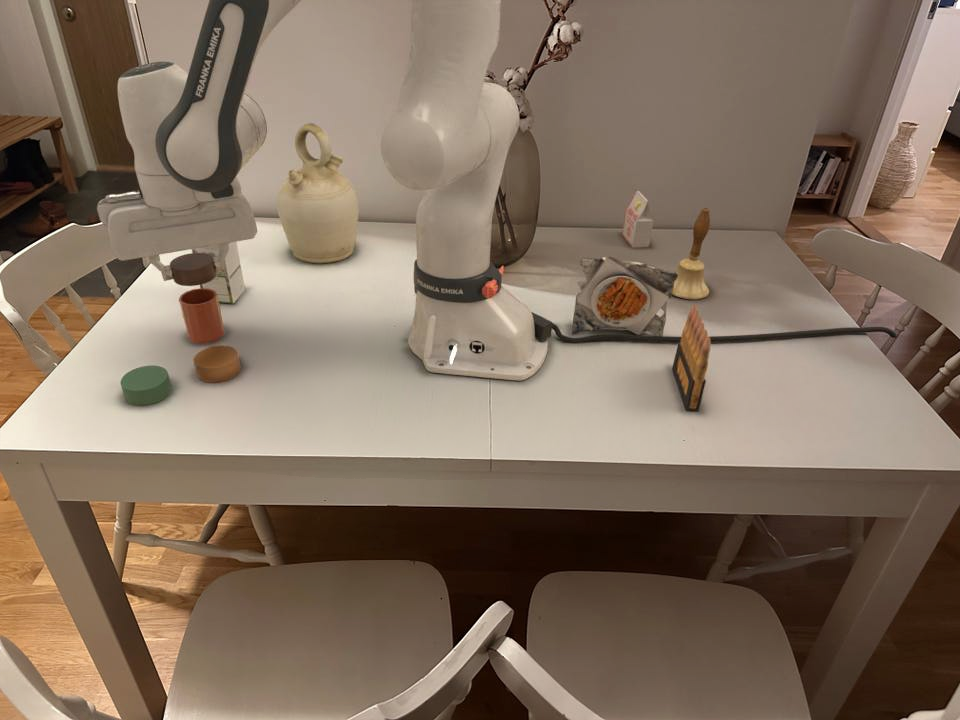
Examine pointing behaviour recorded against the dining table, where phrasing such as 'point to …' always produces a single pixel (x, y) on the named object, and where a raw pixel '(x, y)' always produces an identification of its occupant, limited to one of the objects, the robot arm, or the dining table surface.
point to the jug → (318, 204)
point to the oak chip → (217, 364)
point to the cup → (202, 315)
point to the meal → (622, 296)
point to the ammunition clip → (692, 361)
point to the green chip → (146, 385)
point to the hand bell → (693, 264)
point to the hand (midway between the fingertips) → (195, 273)
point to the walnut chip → (193, 269)
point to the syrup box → (225, 274)
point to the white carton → (638, 222)
